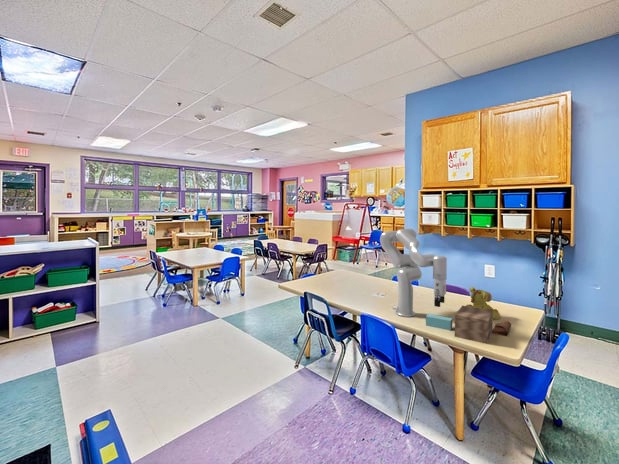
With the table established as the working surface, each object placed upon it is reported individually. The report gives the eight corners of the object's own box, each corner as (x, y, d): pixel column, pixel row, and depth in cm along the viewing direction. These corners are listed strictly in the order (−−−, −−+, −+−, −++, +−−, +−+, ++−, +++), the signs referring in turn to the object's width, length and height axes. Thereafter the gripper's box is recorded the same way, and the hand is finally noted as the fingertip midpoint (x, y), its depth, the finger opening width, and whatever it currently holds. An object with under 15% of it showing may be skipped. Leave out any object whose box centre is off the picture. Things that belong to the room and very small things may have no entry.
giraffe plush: (504, 317, 199) (505, 288, 197) (487, 325, 185) (488, 294, 183) (472, 309, 215) (473, 282, 214) (455, 316, 201) (455, 287, 200)
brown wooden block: (454, 336, 169) (455, 314, 168) (461, 325, 185) (462, 305, 184) (487, 343, 160) (488, 320, 159) (492, 331, 175) (492, 310, 174)
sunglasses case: (494, 323, 188) (501, 315, 185) (505, 331, 184) (513, 323, 182) (490, 332, 173) (497, 324, 171) (502, 341, 170) (510, 333, 168)
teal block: (425, 325, 186) (425, 316, 185) (427, 323, 190) (428, 314, 189) (450, 330, 178) (450, 321, 177) (452, 328, 182) (452, 318, 181)
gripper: (442, 279, 172) (442, 309, 173) (449, 274, 186) (449, 302, 187) (429, 278, 177) (428, 307, 178) (437, 273, 191) (436, 300, 192)
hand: (439, 304), depth 182 cm, fingers open, 9 cm apart
